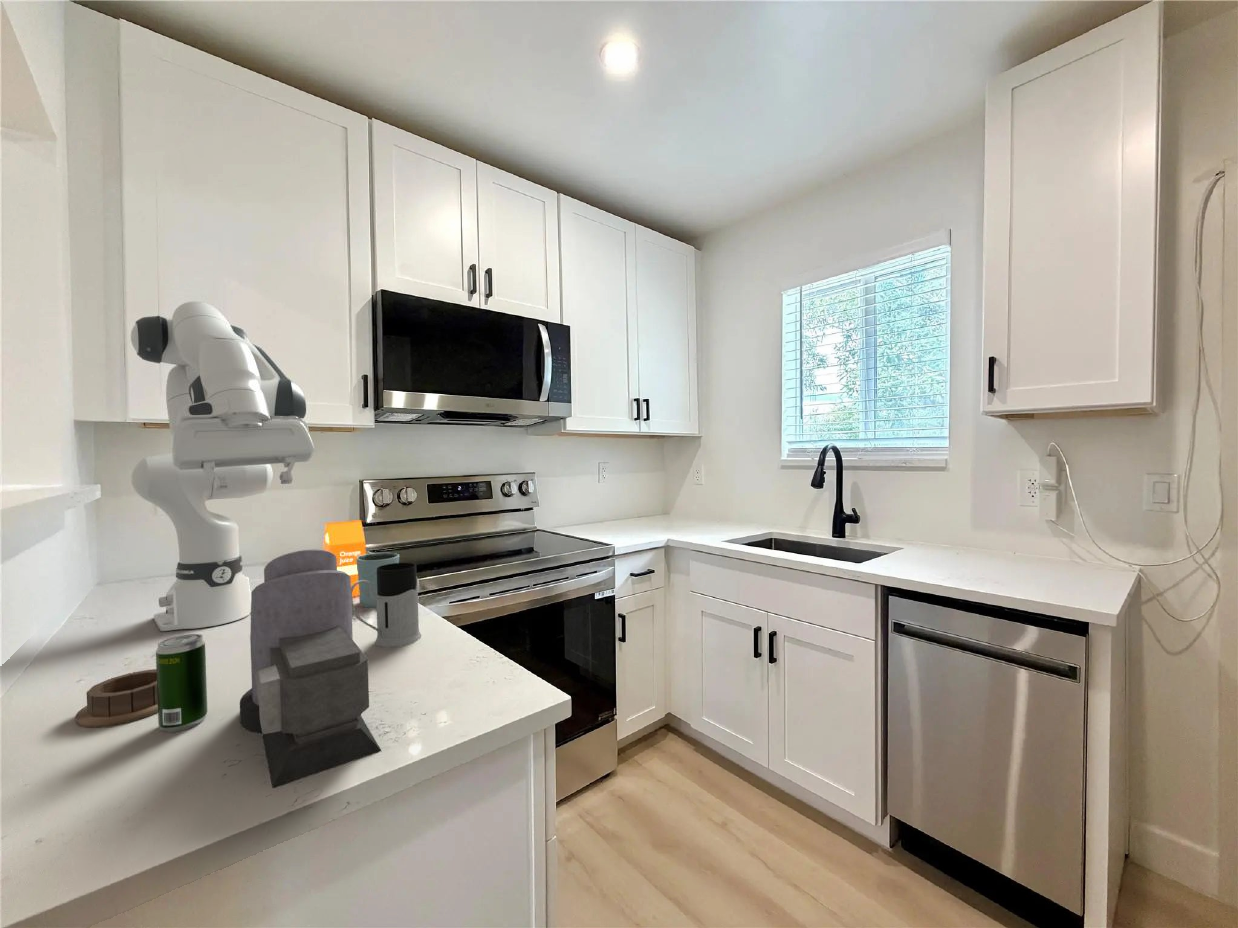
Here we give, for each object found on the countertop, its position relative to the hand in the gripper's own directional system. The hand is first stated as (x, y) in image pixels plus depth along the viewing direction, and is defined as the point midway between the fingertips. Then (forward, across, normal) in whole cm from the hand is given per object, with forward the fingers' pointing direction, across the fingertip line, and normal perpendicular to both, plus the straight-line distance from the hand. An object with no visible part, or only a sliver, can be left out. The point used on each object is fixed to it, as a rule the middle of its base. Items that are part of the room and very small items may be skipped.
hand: (255, 485), depth 89 cm
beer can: (+34, +13, -6) cm, 37 cm away
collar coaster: (+27, +18, -17) cm, 37 cm away
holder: (+30, -19, -16) cm, 39 cm away
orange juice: (+9, -27, -56) cm, 63 cm away
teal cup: (+16, -30, -43) cm, 55 cm away
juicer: (+40, +1, +4) cm, 41 cm away
